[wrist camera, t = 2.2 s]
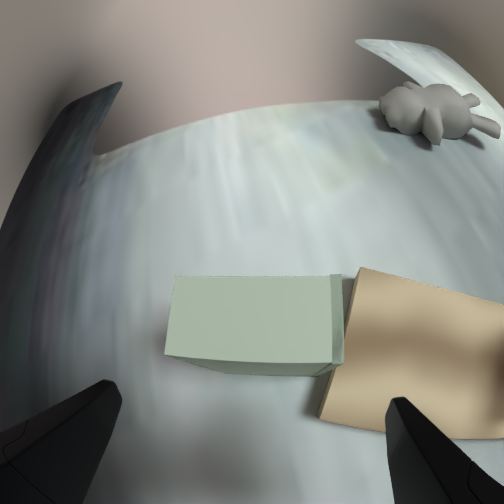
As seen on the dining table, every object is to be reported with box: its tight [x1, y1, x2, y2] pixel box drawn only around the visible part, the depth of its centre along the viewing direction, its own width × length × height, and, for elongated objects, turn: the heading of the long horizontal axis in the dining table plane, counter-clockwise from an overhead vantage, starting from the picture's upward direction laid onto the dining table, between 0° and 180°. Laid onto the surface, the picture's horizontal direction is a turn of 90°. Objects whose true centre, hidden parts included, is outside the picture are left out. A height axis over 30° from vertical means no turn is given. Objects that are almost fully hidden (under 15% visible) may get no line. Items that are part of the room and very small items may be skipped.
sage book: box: [164, 274, 344, 377], centre depth 14 cm, size 3×6×10 cm, turn 87°
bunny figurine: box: [379, 82, 501, 146], centre depth 24 cm, size 10×5×15 cm
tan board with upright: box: [317, 267, 504, 439], centre depth 11 cm, size 10×18×10 cm, turn 71°
